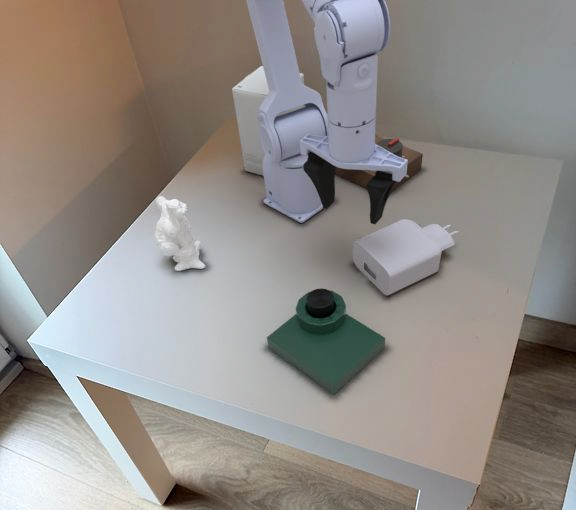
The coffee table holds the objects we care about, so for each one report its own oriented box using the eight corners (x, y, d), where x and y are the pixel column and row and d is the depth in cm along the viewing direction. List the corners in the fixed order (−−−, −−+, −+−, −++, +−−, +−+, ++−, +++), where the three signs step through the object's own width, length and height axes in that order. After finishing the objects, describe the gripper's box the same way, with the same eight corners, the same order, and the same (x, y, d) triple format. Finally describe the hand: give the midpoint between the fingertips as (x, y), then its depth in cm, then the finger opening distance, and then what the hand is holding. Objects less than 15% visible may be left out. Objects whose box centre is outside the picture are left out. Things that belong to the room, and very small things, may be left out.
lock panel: (327, 176, 96) (326, 159, 93) (368, 147, 100) (368, 131, 98) (390, 205, 89) (391, 188, 87) (432, 174, 93) (434, 157, 91)
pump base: (267, 347, 73) (263, 327, 70) (320, 303, 77) (319, 282, 74) (334, 395, 68) (333, 376, 64) (388, 345, 71) (390, 325, 68)
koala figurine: (218, 266, 84) (201, 199, 75) (181, 285, 82) (158, 220, 73) (193, 239, 89) (174, 174, 79) (157, 257, 87) (133, 192, 77)
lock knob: (389, 179, 88) (390, 154, 85) (369, 169, 91) (369, 145, 87) (406, 167, 90) (408, 142, 87) (386, 158, 92) (387, 133, 89)
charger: (471, 258, 80) (387, 298, 77) (432, 226, 85) (352, 263, 82) (477, 232, 76) (389, 273, 73) (436, 200, 81) (352, 238, 78)
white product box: (285, 183, 96) (275, 97, 84) (244, 171, 99) (229, 88, 87) (310, 157, 100) (305, 72, 88) (270, 146, 104) (260, 63, 92)
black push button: (301, 310, 72) (300, 299, 70) (320, 295, 73) (319, 284, 72) (321, 322, 70) (320, 312, 69) (340, 307, 72) (339, 296, 70)
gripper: (422, 111, 63) (412, 210, 74) (318, 88, 69) (323, 183, 80) (394, 141, 60) (388, 240, 71) (287, 114, 65) (296, 209, 76)
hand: (352, 212), depth 75 cm, fingers open, 7 cm apart
